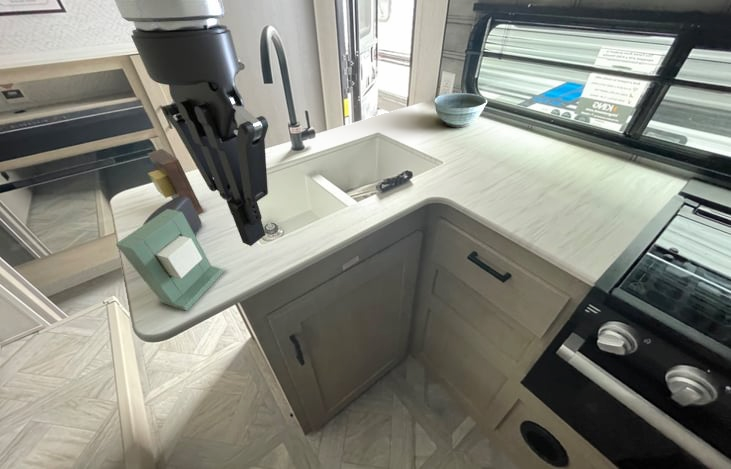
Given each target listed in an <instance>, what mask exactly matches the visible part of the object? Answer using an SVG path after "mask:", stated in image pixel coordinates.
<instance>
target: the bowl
mask: <svg viewBox="0 0 731 469" xmlns="http://www.w3.org/2000/svg"><path fill="white" fill-rule="evenodd" d="M433 102H434V106H435V111H436V115H437V116H438V117H439V119H440V120H441V121H443V122H444V123H445V125H446V126H448V127H452V128H464V127H466V126H468V125H469V124H470V123H472V122H475V120H477V119H478V118H479V117H480V115H481V114H482V113H483V111H484V109H485V106H486V105H487V104H488V100H487V98H486V97H485V96H482V95H480V94H475V93H467V92H453V93H445V94H442V95H438V96H436V98H434V100H433Z"/></svg>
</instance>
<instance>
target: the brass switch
mask: <svg viewBox="0 0 731 469" xmlns="http://www.w3.org/2000/svg"><path fill="white" fill-rule="evenodd" d="M147 175H148V177H149V179H150V180H151V182H152V183H153V185H154V187H155V189H156V190H157V192H158V193H159V194H160V195H162V196H163V197H164V198H165V199H167V198H171V196H172V195H174V194H176V193H175V191H174V189H173V187H172V185H171V183H170V181H169V180H168V178H167V176H166V174H164V173H163V172H162V171H160V170H159V169H158V170H156V169H155V170H153V171H149V172H148V173H147Z"/></svg>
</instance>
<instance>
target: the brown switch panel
mask: <svg viewBox="0 0 731 469" xmlns="http://www.w3.org/2000/svg"><path fill="white" fill-rule="evenodd" d="M147 156H148V158H149V159H150V161H151V163H152V165H153V166H154V169H155V170H158V169H159V170H160V171H162V172H163V173H164V174H166V176H167V178H168V180H169V181H170V183H171V185H172V187H173V189H174V191H175V193H176V194H174V195H172V196H170V198H171V200H173V199H175V198H177V197H179V196H187V197H189V198H190V200H191V202H192V204H193V206H194V208H195V210H196V212H197V214H198V215H200V214H202V213H203V212H204V210H203V207H202V205H201V204H200V203H201V202H199V199H198V197H197V194H196V193H195V191H194V189H193V187H192V185H191V183H190V181H189V179H188V176H187V175H186V173H185V171H184V169H183V166H182V165H181V164H182V163H181V162H180V160H179V159H178V158H177V157H175V156H174V155H172V154H171V153H169V152H168V151H166V150H165V149H163V148H159V149H157V150H154V151H150V152H147Z"/></svg>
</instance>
